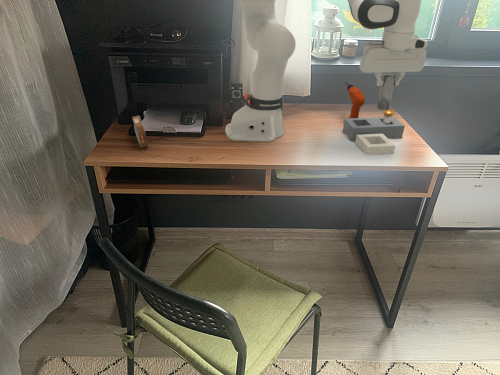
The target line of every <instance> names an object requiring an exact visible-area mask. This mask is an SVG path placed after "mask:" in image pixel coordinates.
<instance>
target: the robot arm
mask: <svg viewBox="0 0 500 375" xmlns="http://www.w3.org/2000/svg"><path fill="white" fill-rule="evenodd" d="M238 1H239V5H240V7H241V10H242V14H243V20H244V21H243V22H244V25H245V31H246V34H245V36H246V39H247V42H248V44H249V45H250V47H251V48H252V49H253V50H254V51H255V52H257V60H256V66H255V68H254V70H253V71H252V76H251V77H252V78H251V79H252V80H251V94H248V93H247V92H246V93H244V94H243V98H244V100H245V102H246V103H245V105H244V106H242V107H241V108H239V109H238V110H236V111H235V112H234V113H233V115H232V117H231V121H230V123H228V124H226V126H225V130H224V133H225V135H226V137H227V138H228V139H229V140H232V141H239V142H240V141H241V142H244V141H245V142H266V143H267V142H269V143H271V142H274V141H275V140H276V139H277V138H280V137H282V136H283V135H284V134H285V129H284V125H283V108H284V95H283V92H284V91H283V89H284V88H283V87H284V77H285V71H286V69H287V65H288V62H289V59H290V58H291V57H292V56H293V54H294V52H295V50H296V44H297V43H296V39H295V37H294V35H293V33H292V32H291V31H290V30H289V29H288V28H287V27H286V26H284V25H282V24H279V23H278V21H277V17H276V12H275V11H276V9H275V2H276V0H238ZM347 3H348V5H349V6H348V7H349V11H350V14H351V16H352V18H353V20H354V21H355V22H357V23H358V24H359V25H361V27H362V28H364V29H368V30H376V29H382V28H383V32H382V37H381V40H369V41H368V42H367V43H365V44H364V45H363V47H362V55H361V58H360V63H359V65H358V66H359V70H360V71H361V72H362V73H365V74H372V73H373V74H374V75H375V78H376V86H377V87H381V86H383V83H384V81H383V80H382V75H383V74H384V73H397V76H395V82H394V87H395V86H396V87H397V86H399V85H400V81H401V80H402V79H403V78H404V77H405V75H406V73H409V72H413V73H414V72H421V71H422V70H423V69H424V66H425V64H426V63H425V62H426V58H427V50H426V48H427V46H428V44H429V42H428V41H427V40H426V39H423V38H421V37H419V36H418V35H415V31H416V26H415V25H416V22H417V19H418V18H419V13H420V10H421V9H420V8H421V4H422V0H347Z"/></svg>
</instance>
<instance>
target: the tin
mask: <svg viewBox="0 0 500 375" xmlns="http://www.w3.org/2000/svg"><path fill="white" fill-rule="evenodd" d="M131 120H132V122H133V126H134V132H135V133H134V134H135V135H136V136H135V137H136V140H137V142H138V145H139V147H140V148H145V147H149V144H148V138H147V135H146V134H147V133H146V130H145V126H144V124H143V122H142V119H141V116H140V115H136V116H132V117H131Z"/></svg>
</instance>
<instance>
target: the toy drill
mask: <svg viewBox="0 0 500 375" xmlns="http://www.w3.org/2000/svg"><path fill="white" fill-rule="evenodd" d="M344 83H345V85H346V86H347V88H346V90H347V91H348V96H349V97H350V101H351V103H352V106H351V109H350V114H349V118H359V115H360V114H359V113H360V110H361V107H362V106H364V105H365V101H366V97H365V96H364V94H363V92H362V91H361V90H360V89H359V88H358V87H356V86H354V85H353V84H350V83H349V82H348V81H347V80H345V81H344Z"/></svg>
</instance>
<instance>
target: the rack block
mask: <svg viewBox="0 0 500 375" xmlns="http://www.w3.org/2000/svg"><path fill="white" fill-rule="evenodd" d="M354 143H355V144H356V145H357V146H358V147H359V149H361V151H362V152H363V153H364V154H365V155H367V156H368V155H369V156H370V155H387V154H388V155H390V154H394V153H395V150H396V144H395V143H393V142H392V141H391V140H390V139H388V138H387V137H386V136H385V135H384V134H363V135H357V136H356V140H355V142H354Z"/></svg>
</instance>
